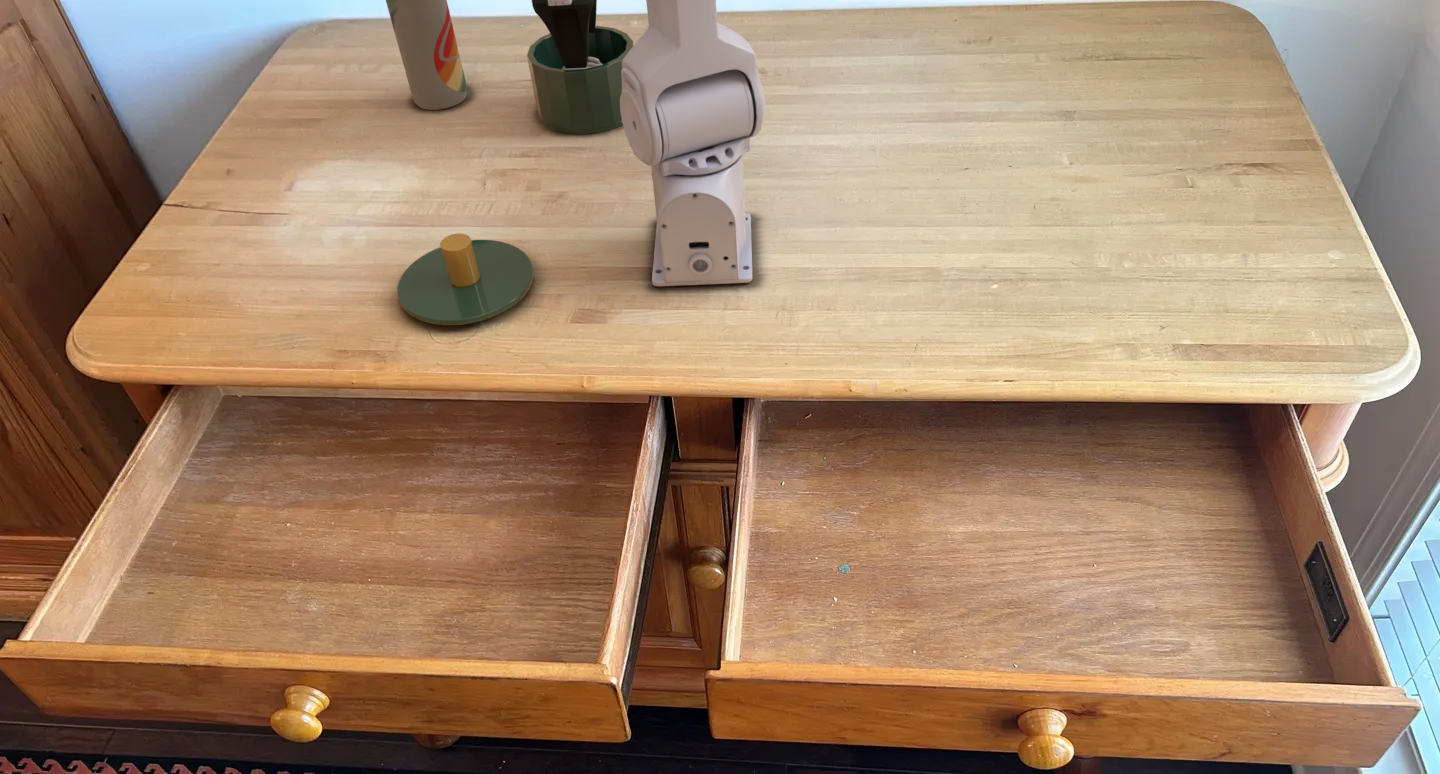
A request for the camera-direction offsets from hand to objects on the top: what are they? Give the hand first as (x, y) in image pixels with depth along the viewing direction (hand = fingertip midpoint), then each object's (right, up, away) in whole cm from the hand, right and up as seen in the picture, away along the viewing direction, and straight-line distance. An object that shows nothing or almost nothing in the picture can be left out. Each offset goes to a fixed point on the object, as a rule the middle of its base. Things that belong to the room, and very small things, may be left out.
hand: (580, 48), depth 102 cm
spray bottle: (-16, -3, +8) cm, 18 cm away
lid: (-7, -24, -17) cm, 31 cm away
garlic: (0, -5, +4) cm, 6 cm away
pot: (0, -5, +4) cm, 6 cm away
